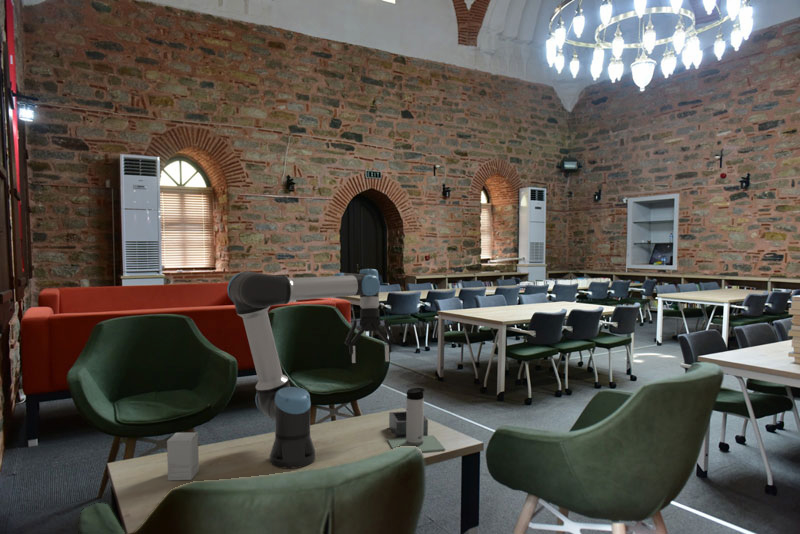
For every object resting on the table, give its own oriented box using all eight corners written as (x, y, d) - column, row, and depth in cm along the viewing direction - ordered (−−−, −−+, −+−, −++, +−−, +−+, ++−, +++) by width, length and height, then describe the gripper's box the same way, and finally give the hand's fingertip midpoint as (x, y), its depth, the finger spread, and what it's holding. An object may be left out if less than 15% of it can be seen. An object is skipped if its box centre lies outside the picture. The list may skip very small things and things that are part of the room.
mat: (395, 455, 182) (395, 453, 182) (387, 440, 196) (387, 439, 196) (445, 450, 186) (445, 448, 186) (433, 436, 200) (433, 435, 200)
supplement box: (199, 470, 169) (199, 431, 168) (191, 480, 161) (190, 440, 161) (176, 470, 168) (175, 432, 168) (166, 480, 161) (166, 440, 161)
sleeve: (396, 438, 198) (396, 422, 198) (389, 427, 210) (389, 412, 210) (427, 435, 201) (427, 420, 201) (419, 424, 213) (419, 410, 213)
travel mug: (424, 445, 189) (424, 391, 188) (406, 445, 189) (406, 390, 188) (423, 439, 195) (424, 386, 194) (406, 439, 195) (406, 386, 194)
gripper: (396, 308, 216) (398, 360, 213) (336, 308, 208) (337, 363, 205) (402, 307, 208) (403, 361, 206) (340, 307, 201) (341, 363, 198)
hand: (370, 362), depth 205 cm, fingers open, 13 cm apart
